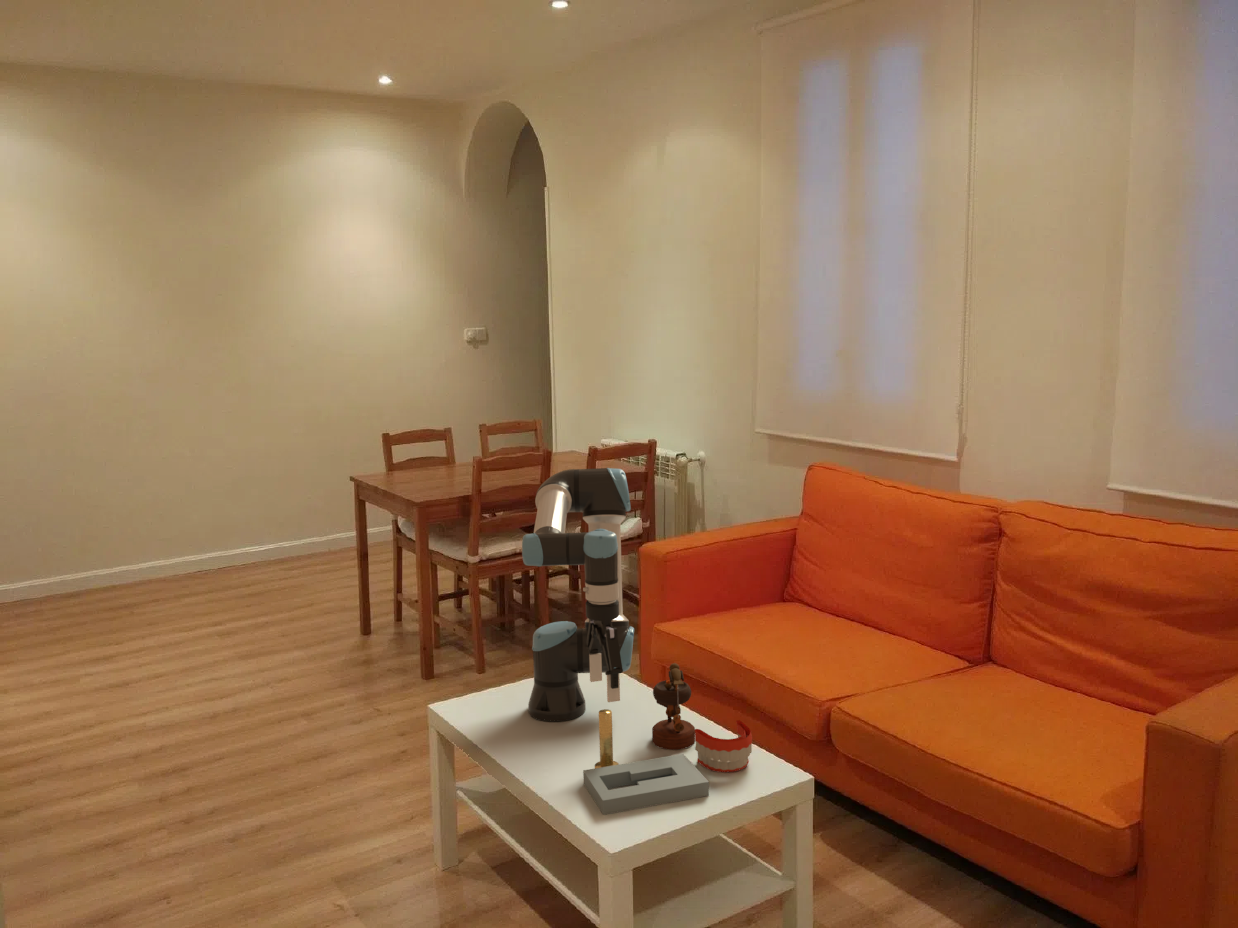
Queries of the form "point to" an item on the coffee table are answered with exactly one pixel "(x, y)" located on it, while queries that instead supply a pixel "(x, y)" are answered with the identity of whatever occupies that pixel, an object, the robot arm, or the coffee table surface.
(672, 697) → the music box
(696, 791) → the keyhole board
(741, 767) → the toy
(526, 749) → the coffee table surface
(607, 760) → the brass peg
